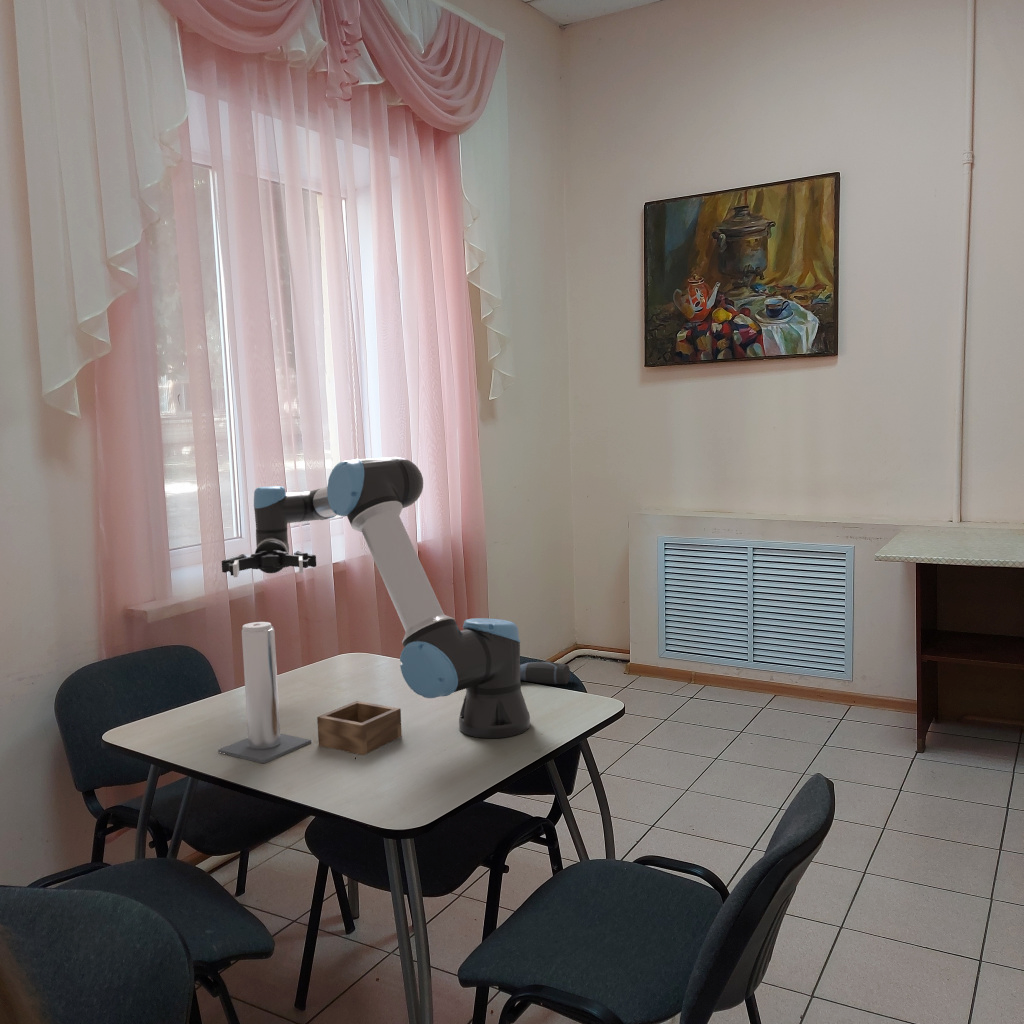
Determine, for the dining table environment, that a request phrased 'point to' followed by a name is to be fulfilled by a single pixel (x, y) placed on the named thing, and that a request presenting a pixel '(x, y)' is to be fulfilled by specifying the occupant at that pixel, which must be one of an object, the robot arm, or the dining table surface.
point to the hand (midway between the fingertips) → (268, 568)
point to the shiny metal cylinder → (261, 685)
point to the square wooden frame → (359, 727)
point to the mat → (266, 755)
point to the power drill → (545, 672)
